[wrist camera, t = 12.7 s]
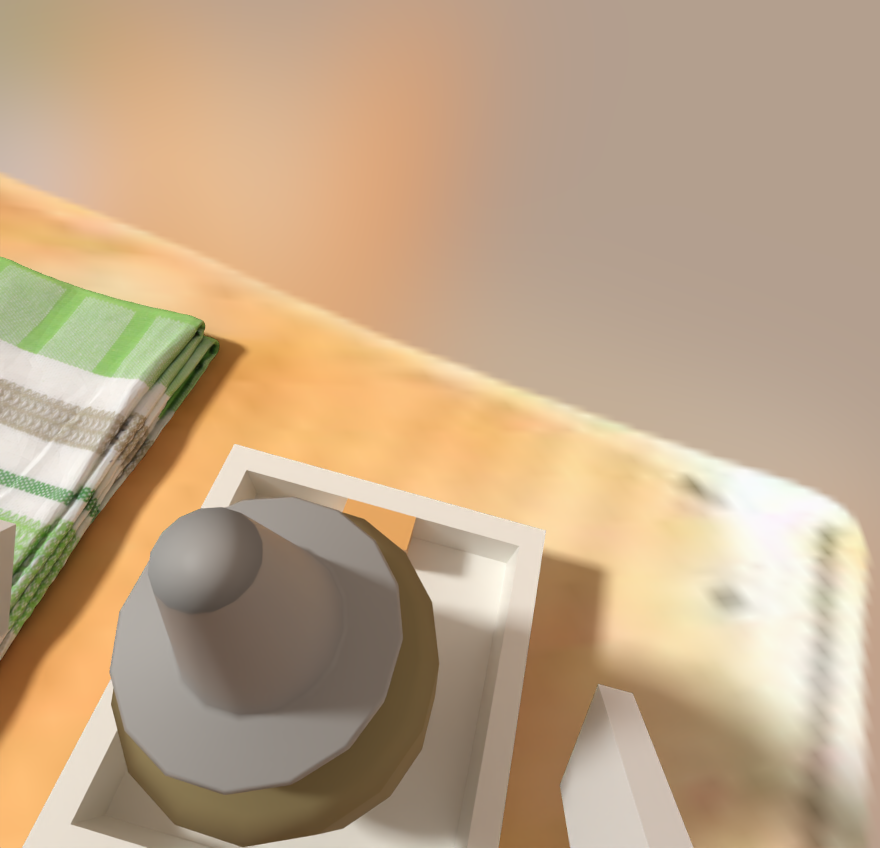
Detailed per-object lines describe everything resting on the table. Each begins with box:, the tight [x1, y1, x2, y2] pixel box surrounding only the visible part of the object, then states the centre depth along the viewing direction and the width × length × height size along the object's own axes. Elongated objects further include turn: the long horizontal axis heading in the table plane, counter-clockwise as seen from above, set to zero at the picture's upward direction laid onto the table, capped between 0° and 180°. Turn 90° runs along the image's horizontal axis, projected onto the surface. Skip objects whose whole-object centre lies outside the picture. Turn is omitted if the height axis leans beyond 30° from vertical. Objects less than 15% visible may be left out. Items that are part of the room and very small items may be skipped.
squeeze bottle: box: [110, 497, 439, 847], centre depth 13 cm, size 8×8×18 cm
